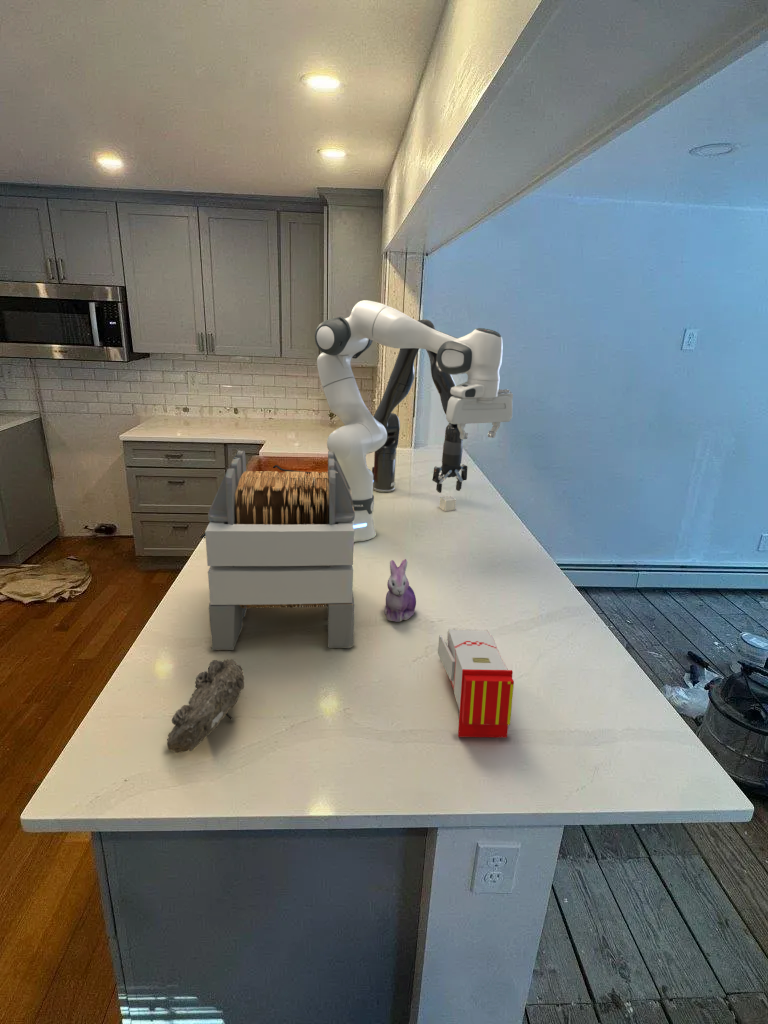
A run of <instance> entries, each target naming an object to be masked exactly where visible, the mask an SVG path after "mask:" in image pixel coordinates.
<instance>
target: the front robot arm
mask: <svg viewBox="0 0 768 1024" xmlns="http://www.w3.org/2000/svg"><path fill="white" fill-rule="evenodd" d="M435 329H436V328H435ZM435 329H433V328H430V327H428V326H426V325H424V324H422V323H420V322H419V321H418V320H416V319H415V318H413V317H411V316H410V315H408V314H406V313H404V312H403V311H400V310H399V309H396V308H394V307H392V306H390V305H387V304H384V303H382V302H379V301H373V300H367V299H363V300H360V301H358V302H357V303H355V305H354V306H353V307H352V309H351V312H350V314H349V316H348V317H344V316H337V317H333V318H329V319H326V320H324V321H322V322H321V323H320V324H318V326H316V328H315V331H314V342H315V344H316V347H317V348H318V350H319V351H320V352H321V353H320V354H319V355H318V356H317V359H316V367H317V372H318V377H319V381H320V385H321V387H322V391H323V393H324V396H325V399H326V402H327V405H328V407H329V410H330V412H331V413H332V415H335V416H337V417H338V418H339V420H340V421H341V422H342V423H343V425H342V426H339V427H338V428H337V429H334V430H333V431H332V432H331V433H330V434H329V435H328V437H327V440H326V446H327V447H326V448H327V450H328V451H331V452H334V454H335V456H336V458H337V460H338V462H339V465H340V467H341V469H342V471H343V473H344V475H345V478H346V480H347V482H348V484H349V486H350V488H351V494H352V500H353V506H354V511H355V519H354V520H353V527H354V543H357V542H365V541H368V540H372V539H373V538H375V537H376V535H377V532H376V528H375V523H374V513H373V512H374V509H375V496H374V490H373V473H372V469H369V467H368V464H367V455H370V454H372V453H375V451H377V450H378V449H379V448H381V447H382V446H383V445H384V444H385V442H386V440H387V432H386V429H385V427H384V426H383V425H382V424H381V423H380V422H378V421H377V420H376V419H375V418H374V415H373V414H372V412H371V411H370V410H369V408H368V407H367V405H366V403H365V402H364V399H363V397H362V395H361V392H360V389H359V386H358V384H357V381H356V377H355V374H354V371H353V369H352V365H351V362H352V359H358V358H359V357H360V356H361V355H362V354H363V353H364V352H365V351H367V350H368V349H369V348H370V347H371V346H372V343H373V342H374V343H377V344H379V345H382V346H384V347H387V348H391V349H392V348H393V349H400V348H419V350H420V349H421V350H425V351H426V350H429V351H432V352H434V353H437V363H438V366H439V368H440V369H441V370H442V371H443V372H445V373H447V374H451V376H457V375H464V374H466V375H467V380H466V381H465V382H463V383H459V384H457V385H456V386H454V387H452V388H451V391H450V393H451V395H454V396H452V397H450V399H449V401H448V406H447V412H446V414H445V419H446V421H447V422H448V424H449V423H452V424H457V427H458V429H459V431H460V439H463V440H468V435H469V433H468V432H466V431H465V428H466V424H467V425H468V424H469V425H470V424H491V425H492V427H491V429H490V430H488V431H487V438H490V439H493V438H496V436H497V435H496V433H497V432H498V430H499V428H500V427H501V423H509V422H510V421H512V419H513V398H514V394H513V392H512V391H511V390H510V389H508V388H505V389H502V388H501V389H500V382H501V381H500V379H501V378H500V377H501V376H500V368H501V366H502V364H503V363H502V362H503V350H504V349H503V348H504V347H503V337H502V335H501V334H500V332H498V331H496V330H493V329H489V328H483V327H478V328H474V329H473V330H472V331H471V332H469V333H468V334H466V335H463V336H461V337H456V336H453V335H451V334H448V333H446V332H443V331H440V330H438V329H436V330H435ZM463 427H464V428H463ZM328 451H327V452H328ZM199 538H200V539H204V538H206V536H205V532H204V533H203V534H202V535H201V536H200V537H199Z"/></svg>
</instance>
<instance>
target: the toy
mask: <svg viewBox="0 0 768 1024" xmlns="http://www.w3.org/2000/svg"><path fill="white" fill-rule="evenodd" d="M446 640H447V643H446V641H445V639H444V636H443V635H442V634H439V637H438V646H437V656H438V657H439V659H440V661H441V663H442V666H443V668H444V670H445V672H446V674H447V677H448V679H449V681H450V684H451V687H452V690H453V693H454V697H455V701H456V705H457V708H458V711H459V714H458V715H459V716H458V730H457V731H458V732H457V737H458V738H508V731H509V726H510V725H511V717H512V707H513V697H514V696H513V695H514V684H515V680H514V679H513V673H514V671H513V670H512V669H508V667H507V665H506V662H505V661H504V659H503V658H502V655H501V653H500V651H499V649H498V647H497V643H496V639H495V637H494V635H493V634H491V632H490V631H489V629H467V628H466V629H465V628H463V629H461V628H460V629H459V628H448V630H447V639H446Z"/></svg>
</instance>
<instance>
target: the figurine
mask: <svg viewBox="0 0 768 1024" xmlns="http://www.w3.org/2000/svg"><path fill="white" fill-rule="evenodd" d="M407 567H408V559H406V558H404V559H403V560H402V561H401V563H400V565H399V566H398V565H397V563H396V562H395V561H394V560H393V559H391V560H390V561H389V570H390V576H389V578H388V579H387V589H388V591H387V592H386V594H385V595H386V596H385V607H384V615H385V616H386V620H387V621H391V622H395V623H400V622H402V621H406V620H409V619H410V618H411V617H413V616H414V615H415V610H416V606H417V597H416V593H415V591H414V590H413V587H411V586H410V582H409V579H408V577H407V574H406V571H407Z"/></svg>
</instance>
